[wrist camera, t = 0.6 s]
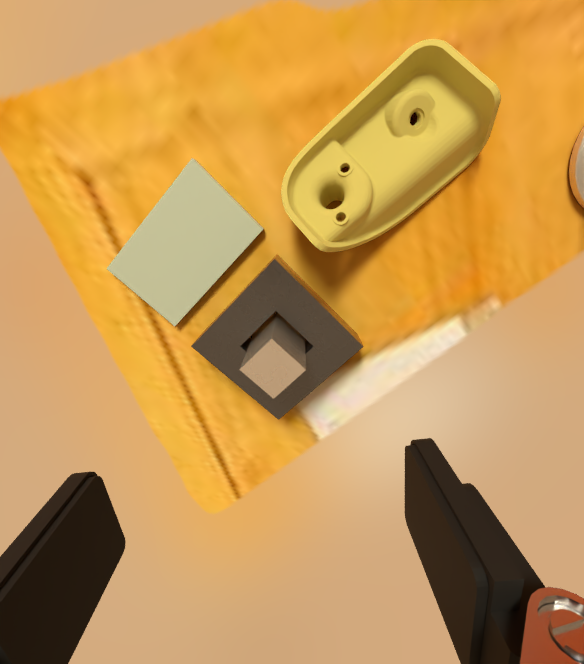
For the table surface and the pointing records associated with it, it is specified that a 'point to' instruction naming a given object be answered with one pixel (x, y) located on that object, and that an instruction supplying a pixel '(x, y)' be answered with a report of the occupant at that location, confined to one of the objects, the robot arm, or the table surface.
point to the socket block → (300, 312)
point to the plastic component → (391, 147)
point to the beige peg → (275, 356)
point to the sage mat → (185, 244)
